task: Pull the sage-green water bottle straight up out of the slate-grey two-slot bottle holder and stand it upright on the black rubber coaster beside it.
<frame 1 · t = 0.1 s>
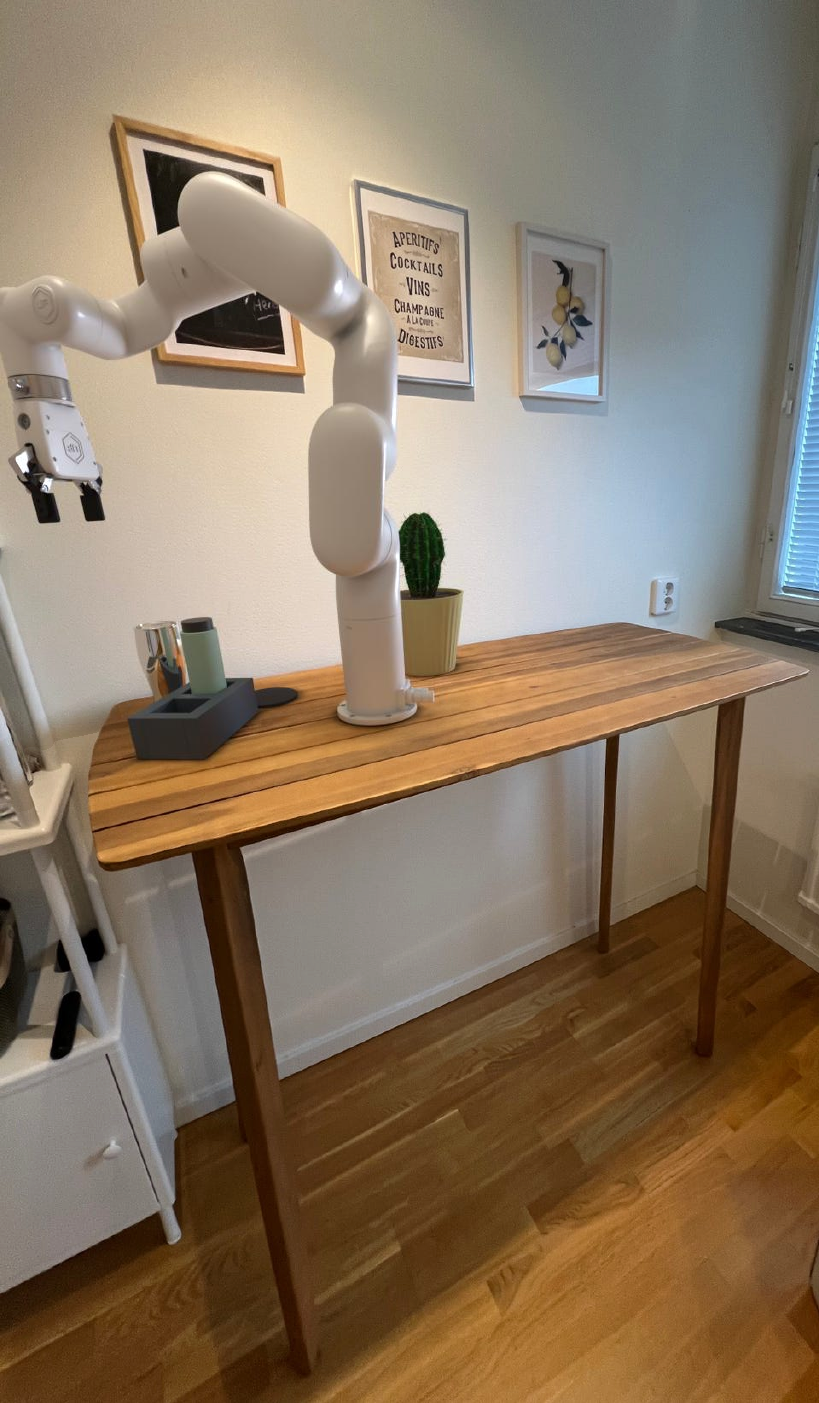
hand: (74, 521, 84), 31 cm above the table, tool pointing down, fingers open, 9 cm apart
coaster: (269, 698, 97), on the table
bottle: (215, 723, 86), resting in holder
potted cactus: (426, 668, 110), on the table
chrome tumbler: (174, 713, 93), on the table
holder: (203, 733, 83), on the table
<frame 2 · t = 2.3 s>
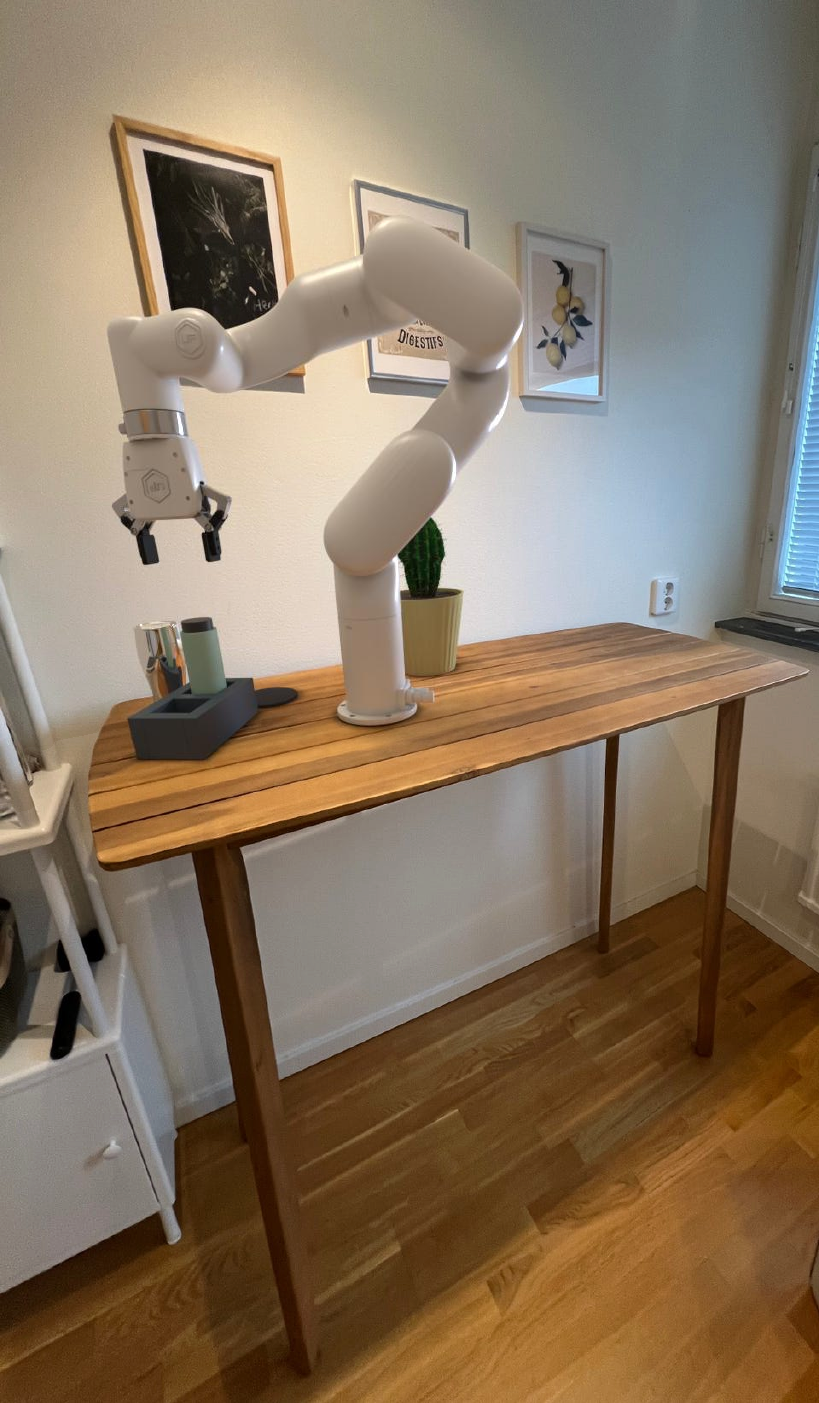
hand: (182, 562, 78), 25 cm above the table, tool pointing down, fingers open, 9 cm apart
nothing on the table moved.
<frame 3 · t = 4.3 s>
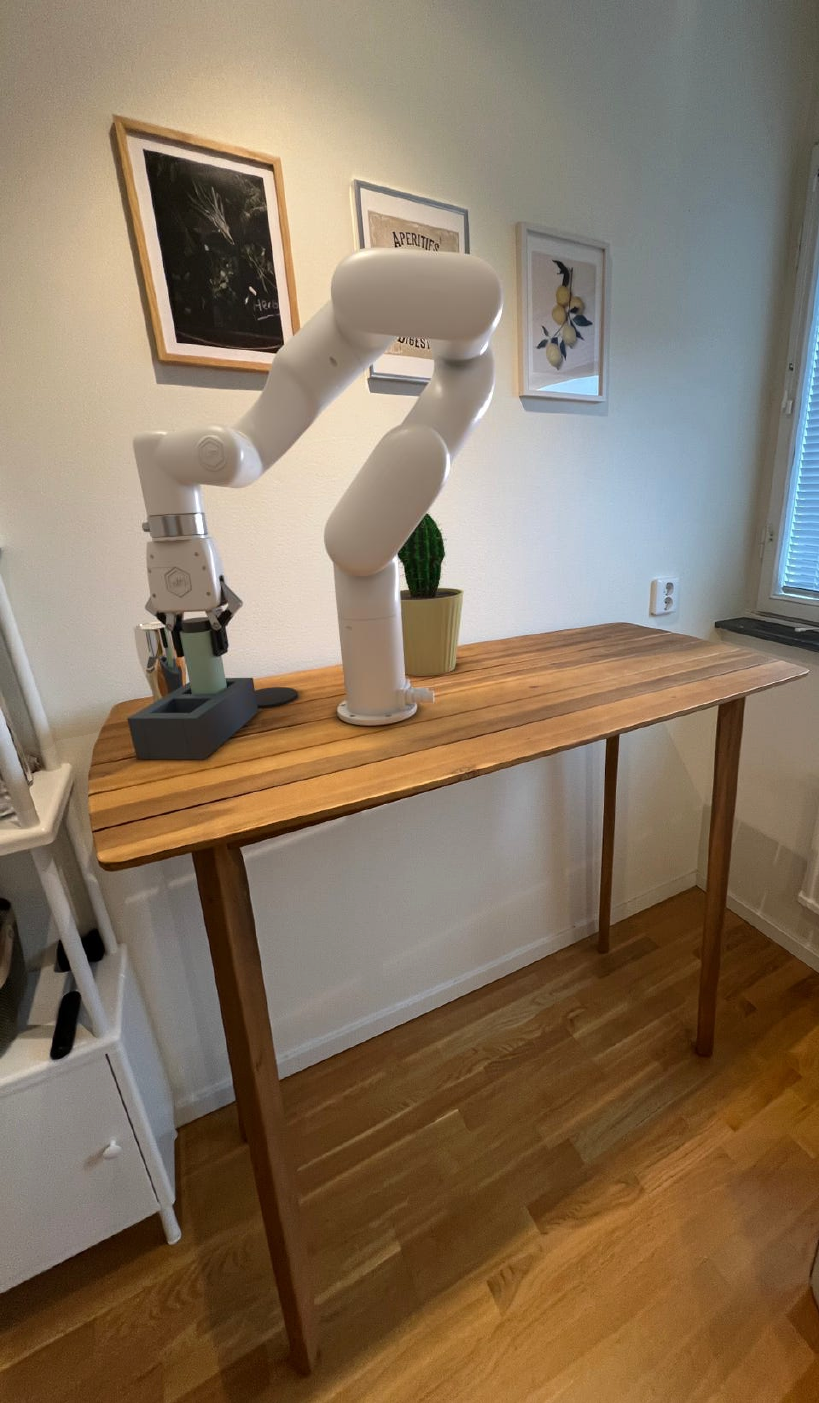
hand: (202, 653, 83), 11 cm above the table, tool pointing down, fingers closed on bottle, 5 cm apart
bottle: (215, 723, 86), resting in holder, touching gripper
everything else where it was.
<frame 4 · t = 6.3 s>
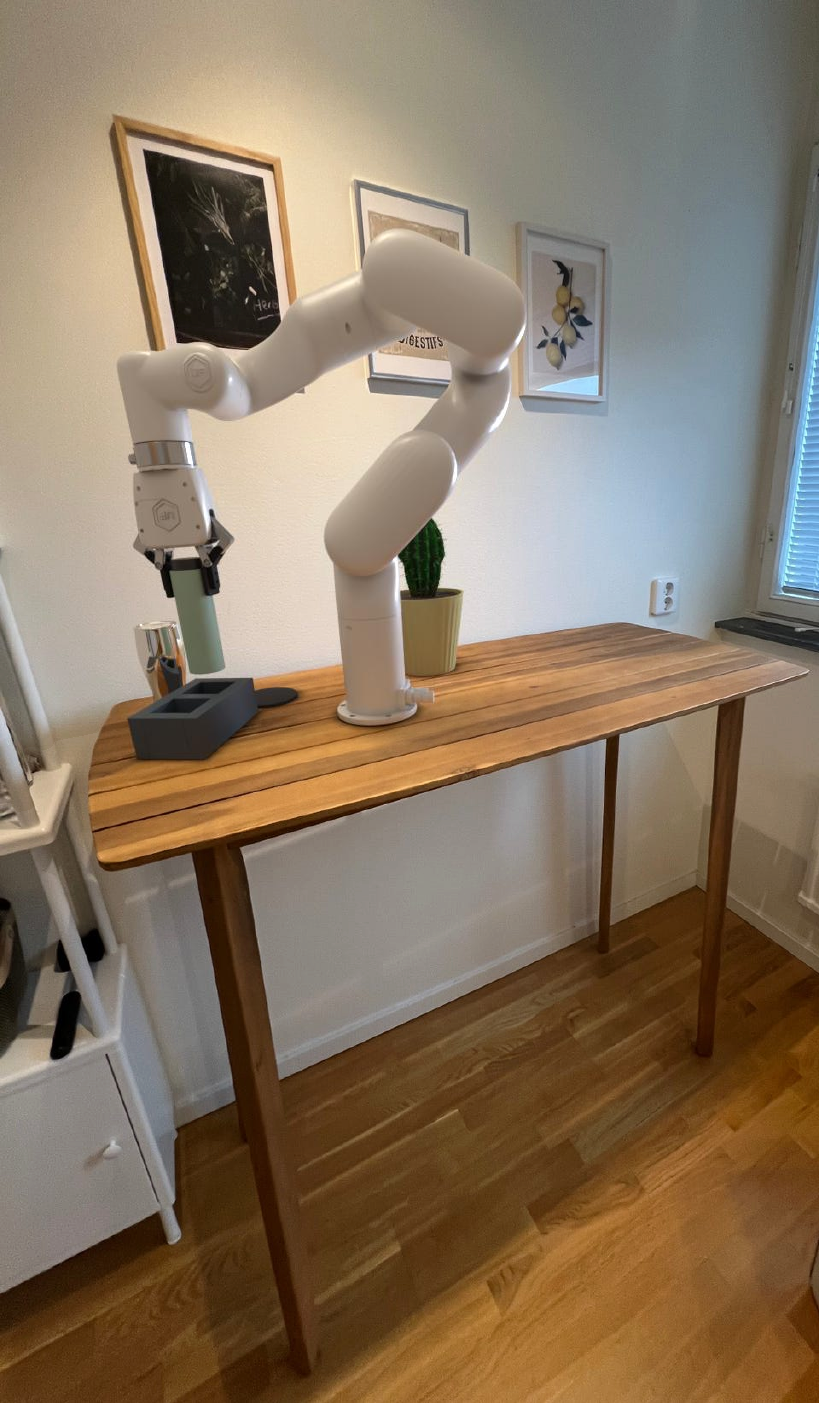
hand: (193, 594, 80), 20 cm above the table, tool pointing down, fingers closed on bottle, 5 cm apart
bottle: (207, 669, 83), point 9 cm above the table, touching gripper
everything else where it was.
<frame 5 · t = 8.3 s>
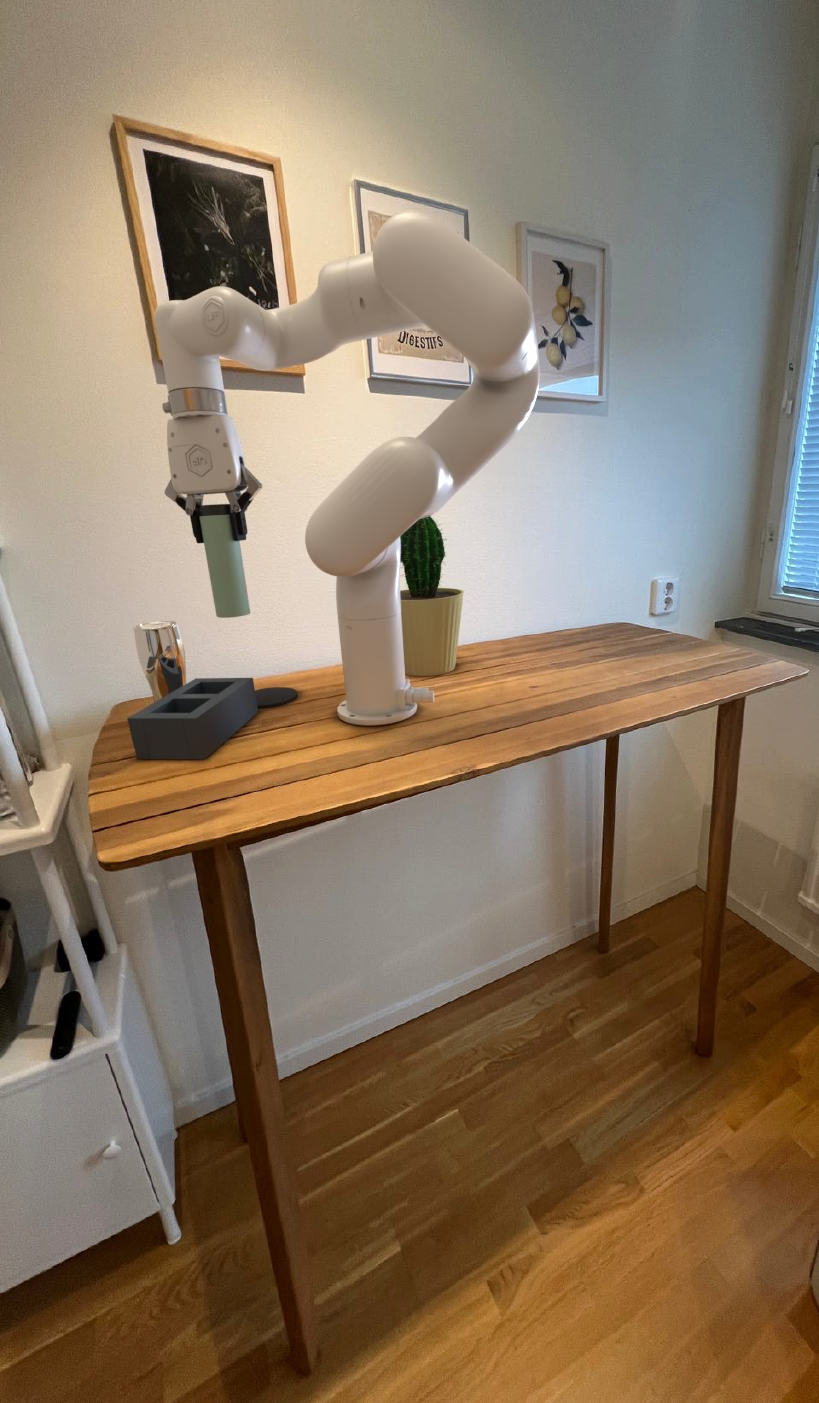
hand: (221, 540, 83), 27 cm above the table, tool pointing down, fingers closed on bottle, 5 cm apart
bottle: (233, 614, 87), point 16 cm above the table, touching gripper
everything else where it was.
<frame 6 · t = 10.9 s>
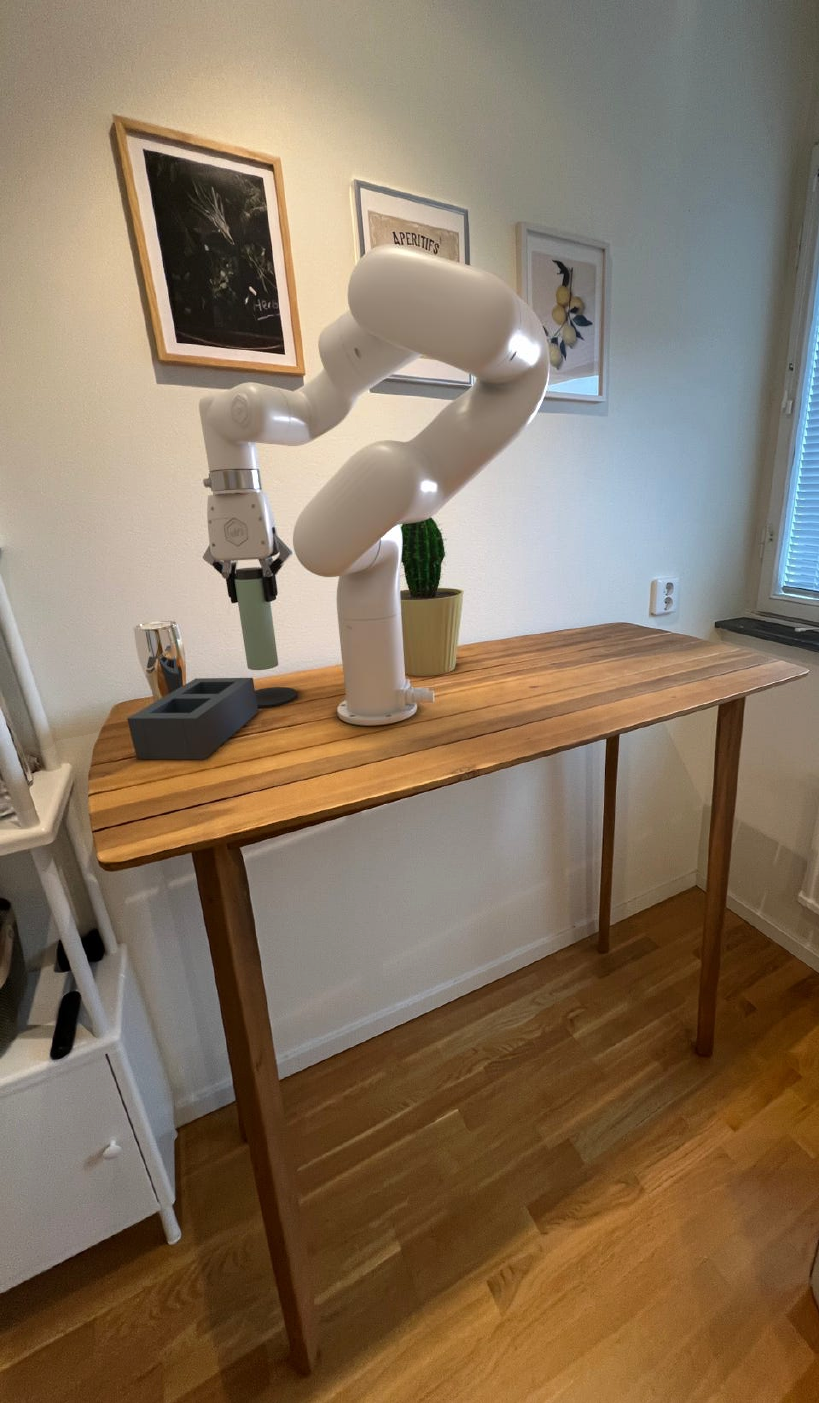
hand: (254, 600, 91), 17 cm above the table, tool pointing down, fingers closed on bottle, 5 cm apart
bottle: (263, 666, 95), point 6 cm above the table, touching gripper
everything else where it was.
when the fingers open (12 cm above the table, at t = 12.6 s): bottle stays where it is, resting on coaster.
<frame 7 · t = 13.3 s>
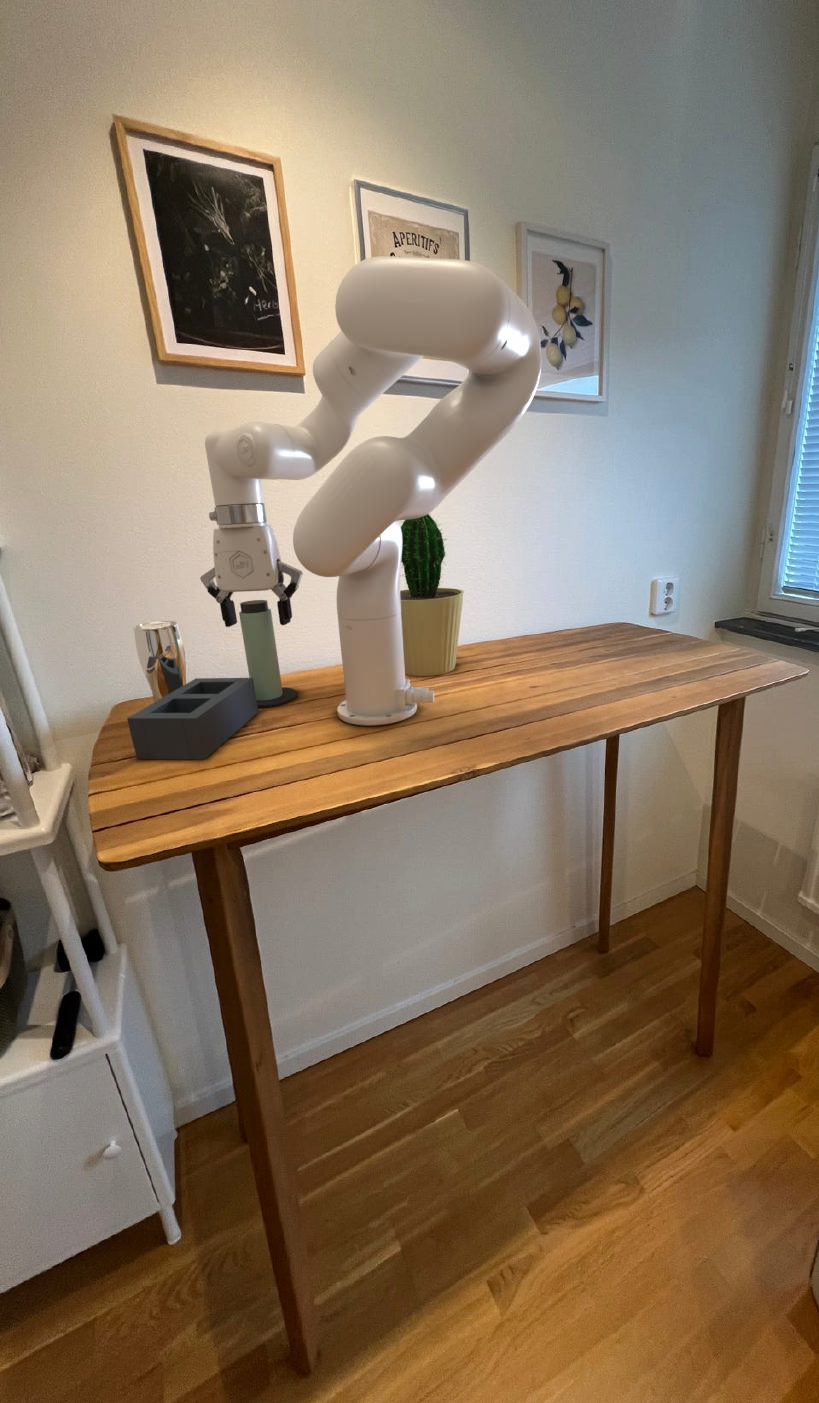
hand: (258, 624, 92), 13 cm above the table, tool pointing down, fingers open, 9 cm apart
bottle: (267, 695, 97), resting on coaster
everything else where it was.
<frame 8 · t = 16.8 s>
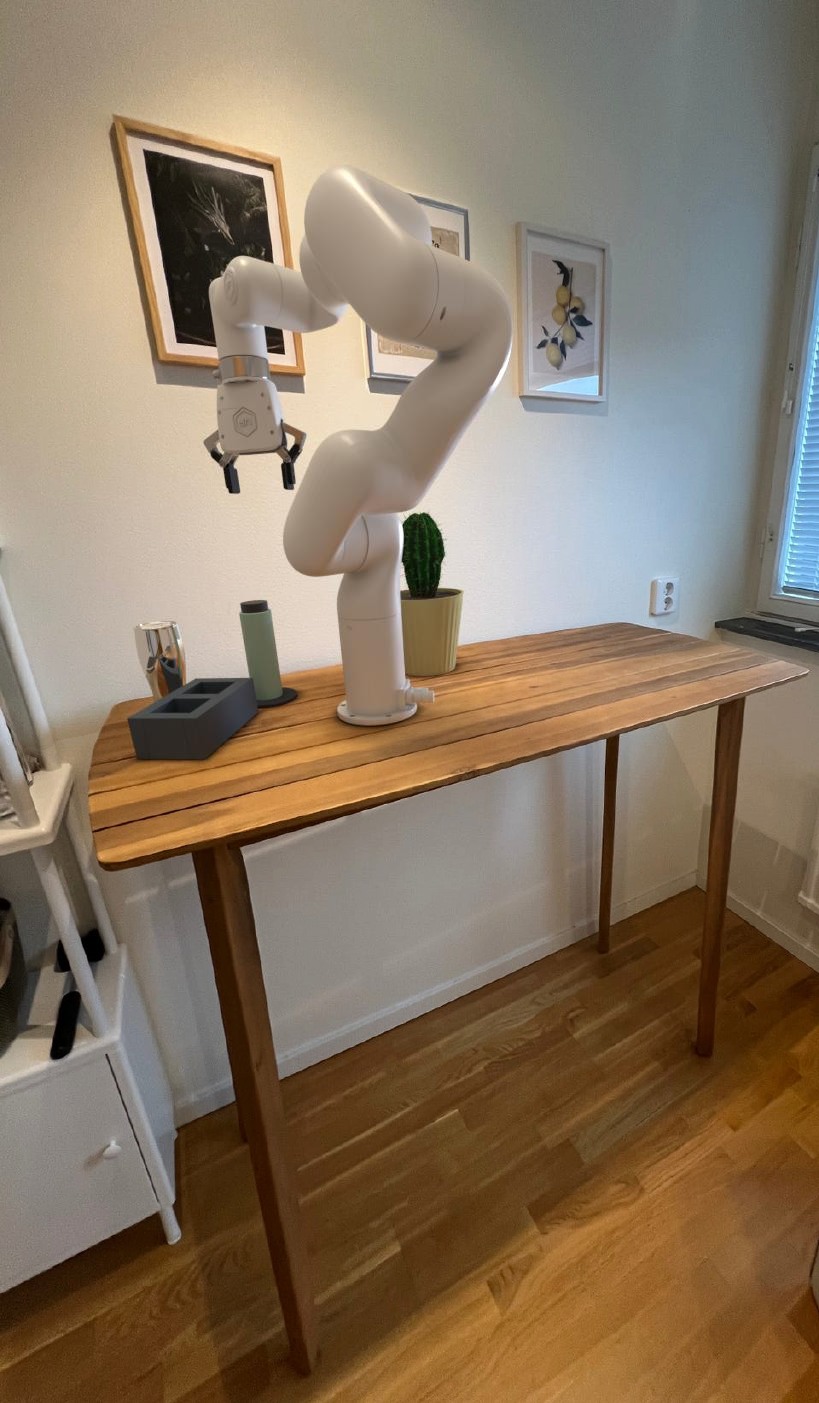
hand: (261, 491, 92), 34 cm above the table, tool pointing down, fingers open, 9 cm apart
nothing on the table moved.
at the end: bottle 0.2 cm off-centre on the coaster, point 0.5 cm above the coaster's base; bottle tilted 0°; bottle touching coaster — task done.
